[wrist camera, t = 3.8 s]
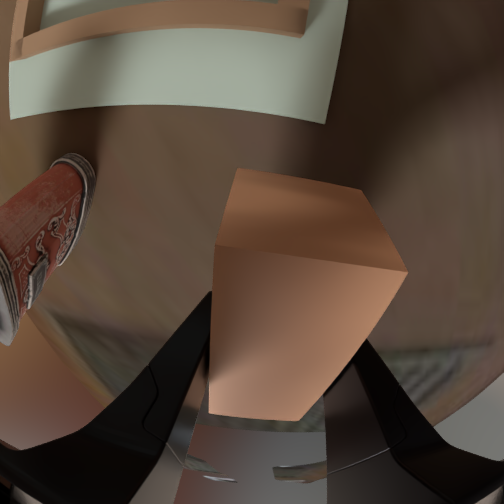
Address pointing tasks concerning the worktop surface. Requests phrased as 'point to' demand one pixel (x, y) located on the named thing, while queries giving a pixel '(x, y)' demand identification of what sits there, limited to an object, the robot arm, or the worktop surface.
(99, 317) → the worktop surface
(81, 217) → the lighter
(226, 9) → the mat
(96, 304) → the worktop surface
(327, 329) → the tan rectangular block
